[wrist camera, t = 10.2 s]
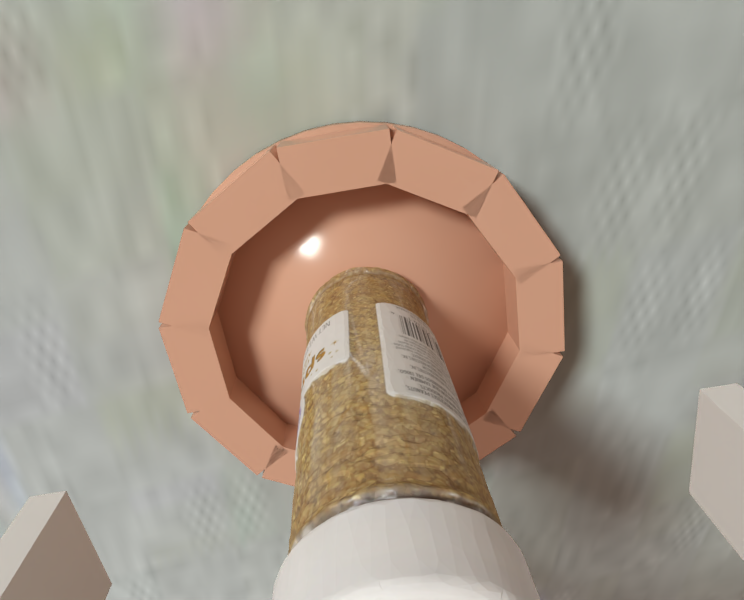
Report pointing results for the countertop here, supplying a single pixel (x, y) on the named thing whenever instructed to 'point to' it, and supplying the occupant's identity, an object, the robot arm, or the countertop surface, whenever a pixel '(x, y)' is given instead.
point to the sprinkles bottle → (388, 461)
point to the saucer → (359, 249)
